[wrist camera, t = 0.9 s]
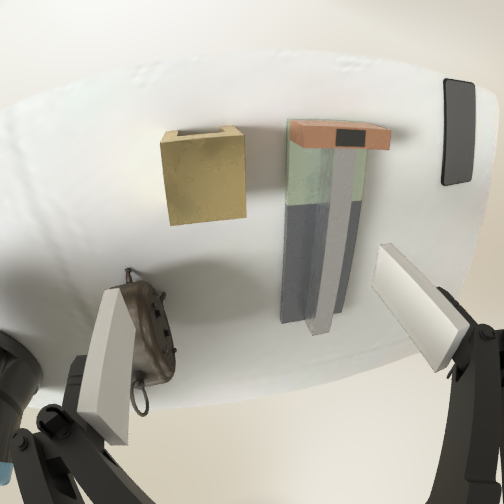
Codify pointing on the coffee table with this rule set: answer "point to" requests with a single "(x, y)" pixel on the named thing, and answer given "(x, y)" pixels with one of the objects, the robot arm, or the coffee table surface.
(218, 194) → the clip
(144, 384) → the alarm clock
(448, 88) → the smartphone
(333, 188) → the rail
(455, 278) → the coffee table surface
